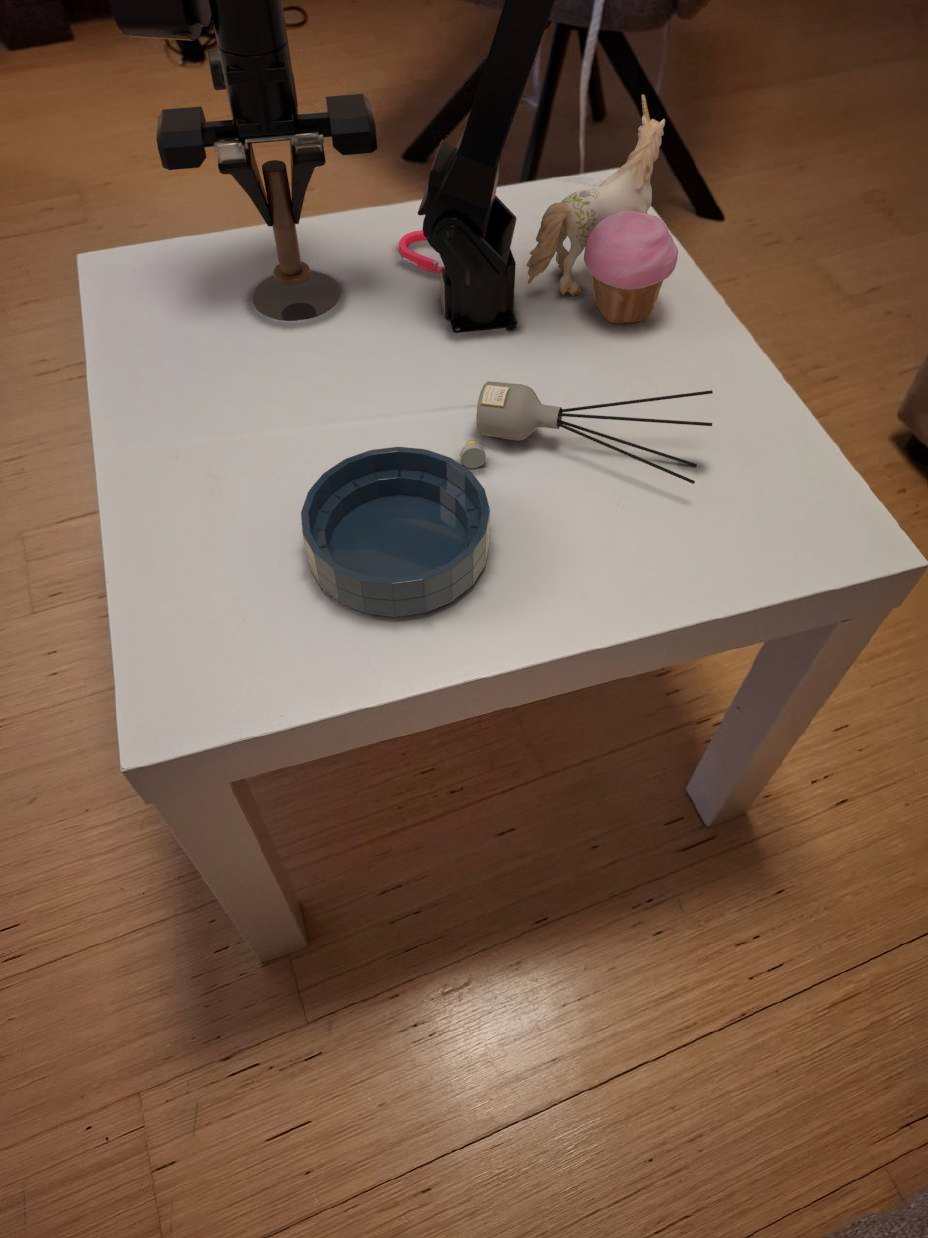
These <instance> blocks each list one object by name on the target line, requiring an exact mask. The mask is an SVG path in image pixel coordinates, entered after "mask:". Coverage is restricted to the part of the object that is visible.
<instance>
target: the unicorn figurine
mask: <svg viewBox="0 0 928 1238" xmlns="http://www.w3.org/2000/svg"><path fill="white" fill-rule="evenodd" d="M641 108H642V111H641V112H642V117H641V125H640V126H639V127H638V129H637V131H638V133H637V140H638V141H637V144H636V146H635V149H633V150H632V152H630V154H629V155H628V157H627V160H626V162H625V163H624V164H623V165H621V167H620V168H618V169H617V170H616V171H615V172H614V173H612V174H611V175H610V176H608V177H607V178H606V179H604V181H602V182H601V183H600V184H599V186H598V187H597V186H596V187H593V188H590V189H589V188H587V189H581V190H577V191H574V192H572V193H571V194H568V195H567V196H566V197H565V198H563V199H562V200H561V201H559V202H554V203H552V204H550V205H549V206H548V207H547V208H546V210H545V212H544V213H543V215H542V218H541V221H540V227H539V229H538V231H537V235H536V236H535V241H536V242H537V245H536V246H535V247H534V248H533V249H531V250H529V253H528V254H529V255H530V257H529V259H528V260H527V262H526V267H527V268H528V270H527V276H528V279H527V284H529V285H530V284H531V283H532V282H533V281H534V279H535V278H536V277H537V276H539V275H540V274H542V273H544V272H545V271H546V270H547V268H548V267H549V265H550V264H551V261H552V259H553V258H554V257H555V262H556V263H557V269H559V270H560V272H562V273H563V274H562V275H561V277H560V278H559V291H560V292H561V295H565V294H566V292H567V293H569V294H570V296H572V297H576V296H578V295H580V294H581V287H580V286H579V285H578V283H576V282H574V281H573V278H572V268H573V266H574V264H575V263H576V260H577V258H578V257H579V256H580V255H581V254H582V253H583V251H585V246H586V242H587V239H588V237H589V235H590V233H591V232H592V230H593V229H594V228H595V227H596V225H597V224H598V223H599V222H601V221H602V220H603V219H605V218H606V217H608V216H610V215H613V214H616V213H618V212H621V211H626V210H631V211H638V212H642V213H646V214H649V213H648V211H649V210H650V208H651V205H652V201H653V191H652V190H653V189H652V185H651V176H652V174H653V172H654V171H653V170H654V162H656V161H657V160H658V158H659V154H660V147H661V145H662V136H664V134H665V132H664V127H665V124H666V119H665V118H662V120H661V121H658V120H656V119H655V118H652V119H651V117H650V113H649V109H648V108H649V107H648V103H647V98H646V95H645V94H641ZM566 238H568V239H569V243H570V248H569V250H567V248H566V246H565V245H564V241H565V240H566Z"/></svg>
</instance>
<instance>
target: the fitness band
mask: <svg viewBox="0 0 928 1238" xmlns="http://www.w3.org/2000/svg"><path fill="white" fill-rule="evenodd" d="M421 241H427V239H426V238H425V237H424V235H423V229H419V230H413V231H410V232H407V233H406V234H404V235H403V236H402V237H401V238H400V239H399V242H398V249H399V252H400V254H401V255H402V256H403V257H402V260H403V261H405V262H407V263H409V264H412V265H414V266H416V267H418V268H421V269H423V270H425V271H428V272H433V273H439V274H441V269H442V268H445V267H444V266H439V262H438V260H436V259H434V258H432V257H431V258H430V257H428V256H425V255H422V254H420V253H417V252H415V251H412V250H411V249H409V248H408V246H409V245H411V244H413V243H415V242H421Z"/></svg>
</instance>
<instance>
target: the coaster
mask: <svg viewBox="0 0 928 1238" xmlns="http://www.w3.org/2000/svg"><path fill="white" fill-rule="evenodd" d="M341 292H342V291H341V287H340V285H339V283H338V282H337V281H336V280H335V279H334V278H332V277H331V276H330V275H328V274H326V273H324V272H320V271H316V270H311V269H310V277H309V279H308V280H307V281H305V282H303V283H301V284H298V285H283V284H280V283H278V282H277V281H276V280H275V278H274V274H273V275H270V276H269V277H267V278H266V279H264V280H262V281H261V282H260V283H259V284H258V285H257V286H256V288H254V291H253V292H252V299H251V300H252V304H253V306H254V308H255V309H256V310H257V311H258V312H259V313H260V314H261V315H263V316H265V317H267V318H270V319H272V320H277V321H282V322H300V321H306V320H310V319H314V318H315V319H316V318H317V317H319V316H320V317H321V316H322V315H324V314H326V313H328V312H329V311H330V310H332V309H333V308H334V307H336V305H337V304H338V302H339V301H340V298H341Z"/></svg>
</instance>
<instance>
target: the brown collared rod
mask: <svg viewBox="0 0 928 1238" xmlns="http://www.w3.org/2000/svg"><path fill="white" fill-rule="evenodd" d="M261 171H262V177H263V184H264V189H265V192H266V196H267V200H268V205H269V210H270V215H271V220H272V226H271V227H272V231H273V238H274V242H275V243H274V244H275V249H276V250H275V251H276V254H277V255H276V256H277V259H278V264H277V265H275V267H274V268H273V271H272V272H273V275H274V278H275V280H276V281H277V282H278V283H280V284H283V285H298V284H301V283H303V282H305V281H307V280H308V279H309V277H310V270H311V269H310V266H309V265H308V264H307V263H306V262H304V261H302V258H301V257H302V256H301V251H300V245H299V238H298V232H297V231H298V230H297V226H296V225H297V224H295V223H294V217H293V210H292V197H291V186H290V182H289V175H288V169H287V164H286V162H285V161H282V160H278V159H271V160H267V161H265V162H264V163H262V164H261Z"/></svg>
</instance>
